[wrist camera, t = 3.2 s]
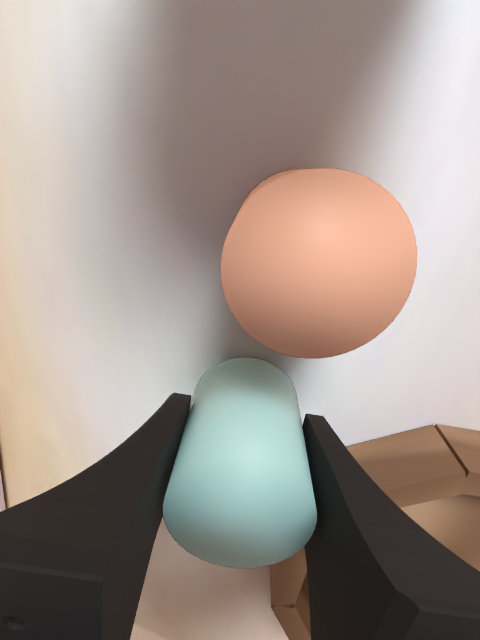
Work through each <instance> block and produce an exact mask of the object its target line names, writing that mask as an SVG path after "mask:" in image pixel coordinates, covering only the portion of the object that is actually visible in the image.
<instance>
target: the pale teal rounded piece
mask: <svg viewBox="0 0 480 640" xmlns="http://www.w3.org/2000/svg"><path fill="white" fill-rule="evenodd" d="M163 517H164V521H165V524H166V527H167V529H168V531H169V533H170V534H171V535H172V537H173V538H174V540H175V541H176V542H177V543H178V544H179V545H180V546H181V547H183V548H184V549H185V550H186V551H188V552H189V553H191V554H192V555H194V556H196V557H198V558H200V559H202V560H204V561H207V562H209V563H213V564H216V565H220V566H225V567H231V568H257V567H263V566H268V565H272V564H275V563H278V562H281V561H283V560H285V559H287V558H289V557H291V556H292V555H294V554H295V553H297V552H298V551H299V550H300V549H302V548H303V547H304V546H305V544H306V543H307V542H308V541H309V539H310V538H311V536H312V534H313V532H314V530H315V526H316V522H317V510H316V504H315V498H314V492H313V486H312V481H311V475H310V469H309V463H308V457H307V452H306V446H305V440H304V434H303V429H302V423H301V417H300V411H299V405H298V400H297V394H296V391H295V388H294V386H293V383H292V382H291V380H290V379H289V377H288V376H287V375H286V374H285V373H284V372H283V371H282V370H280V369H279V368H278V367H276V366H275V365H273V364H271V363H269V362H266V361H263V360H260V359H256V358H248V357H241V358H233V359H229V360H225V361H223V362H220V363H218V364H216V365H215V366H213V367H212V368H210V369H209V370H208V371H207V372H206V373H205V374H204V375H203V376H202V377H201V379H200V380H199V382H198V384H197V387H196V389H195V393H194V396H193V400H192V403H191V407H190V410H189V414H188V418H187V421H186V425H185V428H184V432H183V435H182V438H181V442H180V445H179V449H178V452H177V456H176V459H175V463H174V466H173V470H172V473H171V477H170V480H169V484H168V487H167V491H166V494H165V498H164V502H163Z"/></svg>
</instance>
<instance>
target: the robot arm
mask: <svg viewBox="0 0 480 640" xmlns="http://www.w3.org/2000/svg"><path fill="white" fill-rule="evenodd" d="M190 401H191V395H185V394H178V393H173V394H171V395H170V396H169V398H168V399H167V400H166V401H165V402H164V404H163V405H162V406H161V407H160V408H159V409H158V410H157V411H156V412H155V413H154V414H153V415H152V416H151V417H150V418H149V419H148V420H147V421H146V422H145V423H144V424H143V425H142V426H141V427H140V428H139V429H138V430H137V431H136V432H135V433H133V434H132V435H131V436H130V437H129V438H128V439H127V440H125V441H124V442H123V443H122V444H121V445H119V446H118V447H117V448H116V449H114V450H113V451H112V452H110V453H109V454H108V455H106V456H105V457H103V458H102V459H101V460H99V461H98V462H96V463H95V464H93V465H92V466H90V467H89V468H87V469H86V470H84V471H82V472H81V473H79V474H78V475H76V476H74V477H73V478H71V479H69V480H67V481H65V482H63V483H62V484H60V485H58V486H56V487H54V488H52V489H50V490H48V491H46V492H44V493H42V494H40V495H38V496H36V497H34V498H32V499H29V500H27V501H25V502H22V503H20V504H18V505H15V506H13V507H11V508H8V509H6V510H5V501H4V494H3V487H2V479H1V472H0V640H130V636H131V632H132V628H133V624H134V620H135V616H136V612H137V607H138V603H139V599H140V595H141V591H142V587H143V583H144V579H145V575H146V571H147V568H148V564H149V560H150V556H151V552H152V548H153V544H154V541H155V538H156V534H157V531H158V528H159V525H160V522H161V519H162V517H163V502H164V498H165V494H166V491H167V487H168V484H169V480H170V477H171V473H172V470H173V466H174V463H175V459H176V456H177V452H178V449H179V445H180V442H181V438H182V435H183V432H184V428H185V425H186V421H187V418H188V414H189V410H190ZM302 429H303V434H304V440H305V446H306V452H307V457H308V463H309V469H310V475H311V481H312V486H313V492H314V498H315V504H316V510H317V522H316V526H315V530H314V532H313V534H312V536H311V538H310V539H309V541H308V542H307V543H306V544H305V546H304V549H305V556H306V564H307V577H308V592H309V608H310V627H311V640H480V571H478V570H477V569H475V568H474V567H472V566H471V565H469V564H468V563H467V562H465V561H464V560H463V559H461V558H460V557H459V556H457V555H456V554H455V553H453V552H452V551H451V550H449V549H448V548H447V547H445V546H444V545H443V544H441V543H440V542H439V541H438V540H436V539H435V538H434V537H433V536H431V535H430V534H429V533H428V532H427V531H425V530H424V529H423V528H422V527H421V526H420V525H418V524H417V523H416V522H415V521H414V520H413V519H411V518H410V517H409V516H408V515H407V514H406V513H405V512H404V511H403V510H402V509H400V508H399V507H398V506H397V505H396V504H395V503H394V502H393V501H392V500H391V499H390V498H389V497H388V496H387V495H386V494H385V493H384V492H383V491H382V490H381V489H380V487H379V486H378V485H377V484H376V483H375V482H374V481H373V480H372V479H371V477H370V476H369V475H368V474H367V473H366V472H365V471H364V469H363V468H362V467H361V466H360V465H359V463H358V462H357V461H356V460H355V458H354V457H353V456H352V455H351V453H350V452H349V451H348V450H347V448H346V447H345V446H344V444H343V443H342V442H341V440H340V439H339V437H338V436H337V435H336V433H335V432H334V431H333V429H332V428H331V426H330V425H329V424H328V422H327V421H326V419H325V418H324V417H323V416H318V415H312V414H306V415H305V419H304V422H303V426H302Z"/></svg>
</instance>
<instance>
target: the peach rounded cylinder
mask: <svg viewBox="0 0 480 640" xmlns="http://www.w3.org/2000/svg"><path fill="white" fill-rule="evenodd" d="M416 267H417V247H416V239H415V235H414V232H413V228H412V225H411V223H410V221H409V219H408V217H407V214H406V213H405V211H404V210H403V208H402V207H401V205H400V204H399V202H398V201H397V200H396V199H395V198H394V197H393V196H392V195H391V193H389V192H388V191H387V190H386V189H384V188H383V187H382V186H381V185H379V184H378V183H376V182H374V181H373V180H371V179H369V178H367V177H365V176H362V175H360V174H357V173H354V172H350V171H346V170H342V169H332V168H318V169H293V170H287V171H282V172H279V173H276V174H274V175H272V176H270V177H268V178H266V179H265V180H263V181H262V182H261V183H259V184H258V185H257V186H256V187H255V188H254V189H253V190H252V191H251V192H250V193H249V195H248V196H247V198H246V199H245V201H244V203H243V204H242V206H241V208H240V210H239V212H238V214H237V216H236V218H235V220H234V222H233V224H232V226H231V228H230V230H229V232H228V234H227V237H226V240H225V243H224V246H223V251H222V256H221V268H220V271H221V283H222V288H223V293H224V296H225V299H226V302H227V305H228V307H229V309H230V311H231V313H232V315H233V316H234V318H235V319H236V320H237V322H238V323H239V325H240V326H241V327H242V328H243V329H244V330H245V331H246V332H247V333H248V334H249V335H250V336H251V337H252V338H253V339H255V340H256V341H258V342H259V343H261V344H262V345H264V346H265V347H267V348H269V349H271V350H273V351H276V352H279V353H281V354H284V355H288V356H293V357H299V358H325V357H332V356H336V355H340V354H344V353H347V352H349V351H352V350H354V349H356V348H358V347H360V346H362V345H364V344H366V343H368V342H369V341H371V340H372V339H374V338H375V337H376V336H378V335H379V334H380V333H381V332H382V331H384V330H385V329H386V328H387V327H388V326H389V325H390V324H391V322H392V321H393V320H394V319H395V318H396V316H397V315H398V314H399V312H400V311H401V309H402V308H403V306H404V304H405V302H406V301H407V299H408V296H409V294H410V292H411V289H412V286H413V282H414V279H415V274H416Z"/></svg>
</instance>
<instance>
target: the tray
mask: <svg viewBox="0 0 480 640" xmlns="http://www.w3.org/2000/svg"><path fill="white" fill-rule="evenodd" d="M346 448H347V450H348V451H349V452H350V453H351V455H352V456H353V457H354V458H355V460H356V461H357V462H358V463H359V465H360V466H361V467H362V468H363V469H364V471H365V472H366V473H367V474H368V475H369V476H370V477H371V479H372V480H373V481H374V482H375V483H376V484H377V485H378V486H379V487H380V489H381V490H382V491H383V492H384V493H385V494H386V495H387V496H388V497H389V498H390V499H391V500H392V501H393V502H394V503H395V504H396V505H397V506H398V507H399V508H400V509H402V510H403V511H404V512H405V513H406V514H407V515H408V516H409V517H410V518H411V519H413V520H414V521H415V522H416V523H417V524H418V525H420V526H421V527H422V528H423V529H424V530H425V531H427V532H428V533H429V534H430V535H431V536H433V537H434V538H435V539H436V540H438V541H439V542H440V543H441V544H443V545H444V546H445V547H447V548H448V549H449V550H451V551H452V552H453V553H455V554H456V555H457V556H459V557H460V558H461V559H463V560H464V561H465V562H467V563H468V564H469V565H471V566H472V567H474V568H475V569H477V570H478V571H480V431H475V430H469V429H463V428H456V427H450V426H444V425H438V424H436V427H434V425H429V426H425V427H421V428H417V429H413V430H409V431H405V432H401V433H398V434H394V435H390V436H386V437H382V438H378V439H374V440H370V441H366V442H362V443H358V444H354V445H351V446H347V447H346ZM270 584H271V608H272V609H273V611H274V613H275V615H276V617H277V619H278V620H279V622H280V624H281V626H282V628H283V629H284V631H285V633H286V635H287V637H288V638H289V640H311V627H310V608H309V592H308V577H307V564H306V556H305V549H304V547H303V548H302V549H300V550H299V551H298V552H297V553H295V554H294V555H292V556H291V557H289V558H287V559H285V560H283V561H281V562H278V563H275V564H272V565H270Z"/></svg>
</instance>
